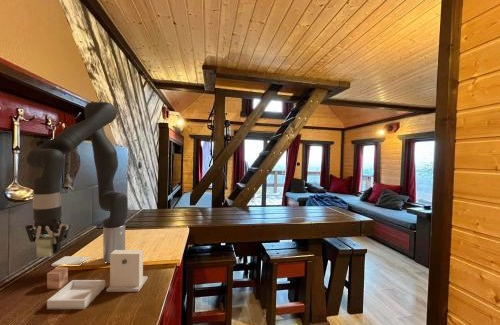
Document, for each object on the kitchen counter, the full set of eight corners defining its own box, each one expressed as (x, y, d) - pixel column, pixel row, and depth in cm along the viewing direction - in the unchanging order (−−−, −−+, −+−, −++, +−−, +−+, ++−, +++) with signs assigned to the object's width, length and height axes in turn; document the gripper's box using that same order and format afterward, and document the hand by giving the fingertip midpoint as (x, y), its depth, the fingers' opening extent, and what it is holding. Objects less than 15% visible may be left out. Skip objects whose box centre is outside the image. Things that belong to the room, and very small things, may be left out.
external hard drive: (65, 259, 114) (91, 259, 114) (51, 267, 106) (78, 268, 106) (65, 255, 114) (90, 256, 114) (51, 264, 105) (78, 264, 105)
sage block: (47, 250, 85) (47, 234, 84) (60, 250, 85) (59, 234, 84) (36, 256, 80) (36, 239, 80) (50, 256, 80) (49, 239, 80)
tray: (72, 287, 90) (72, 280, 90) (105, 287, 91) (105, 280, 91) (47, 309, 78) (46, 300, 78) (84, 309, 79) (84, 300, 78)
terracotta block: (56, 282, 94) (56, 267, 93) (67, 282, 94) (67, 267, 94) (47, 288, 89) (46, 273, 89) (59, 288, 89) (59, 273, 89)
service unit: (118, 278, 97) (118, 246, 97) (147, 278, 98) (147, 246, 97) (106, 291, 88) (106, 255, 88) (138, 291, 89) (138, 256, 88)
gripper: (76, 203, 85) (76, 248, 86) (35, 202, 85) (37, 248, 86) (60, 208, 78) (61, 258, 79) (16, 207, 77) (17, 257, 78)
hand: (48, 252), depth 82 cm, fingers closed on sage block, 4 cm apart
